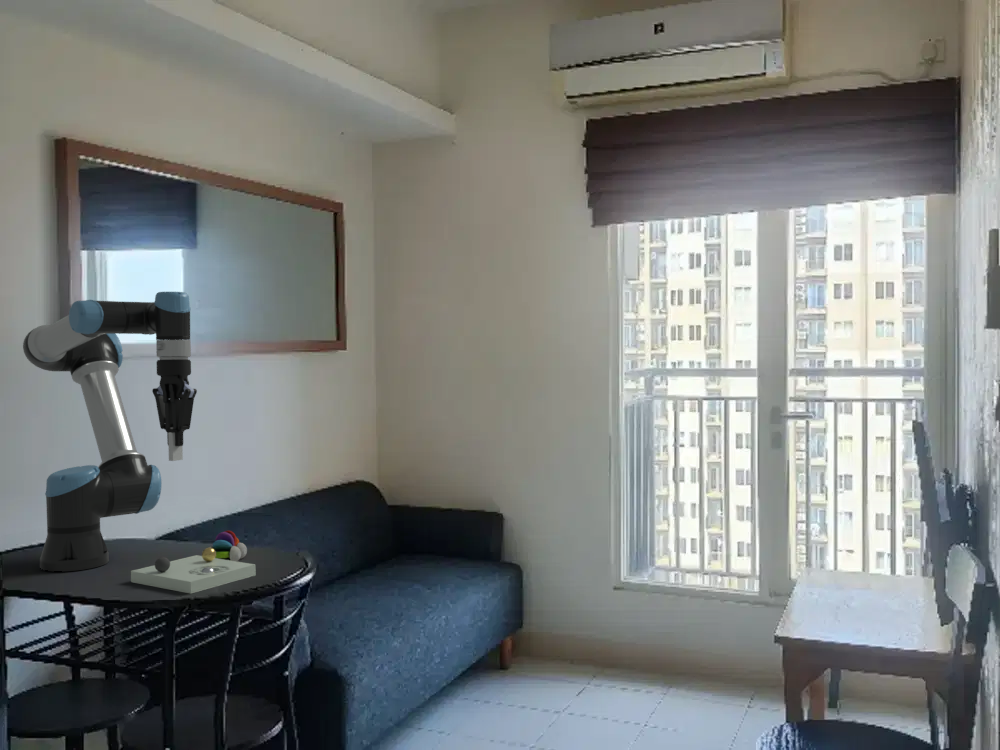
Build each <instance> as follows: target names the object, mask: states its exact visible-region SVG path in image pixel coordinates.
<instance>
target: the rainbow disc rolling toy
mask: <svg viewBox="0 0 1000 750" xmlns="http://www.w3.org/2000/svg"><path fill="white" fill-rule="evenodd" d="M209 547H210V548H213V549H214V550H215V551H216V557H215V558H218V559H229V560H230V561H237V562H239V560H241V559H243V558H244V557H246V555H247V553H248V548H247V546H246V544H244V543H243V542H240V540H239V538H238V537H237V536H236V534H235V533H234V532H233V531H232V530H225V531H222V532H219V533H218V534H217V535H216V536H215V541H214V542H213V543H212V545H211V546H209Z"/></svg>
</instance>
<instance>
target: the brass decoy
mask: <svg viewBox="0 0 1000 750" xmlns="http://www.w3.org/2000/svg"><path fill="white" fill-rule="evenodd" d="M210 547H211V546H209V547H206V548H204V549H203V550H202V552H201V556H202V558H203V559H204V560H205V561H208V562H209V561H212V560H214V559H215V557H216V551H215V550H214V549H213V548H210Z"/></svg>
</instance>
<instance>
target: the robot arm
mask: <svg viewBox="0 0 1000 750" xmlns="http://www.w3.org/2000/svg"><path fill="white" fill-rule="evenodd" d="M117 334H119V335H120V334H121V335H122V334H123V335H125V334H126V335H131V334H133V335H149V336H151V335H155V340H156V341H155V342H156V343H155V344H156V357H157V358H159V359H157V361H156V375H157V376H159V377H160V379H159V386H158V387H155V388H152V390H151V391H152V393H153V395H154V400H155V404H156V410H157V415H158V421H159V425H160V429H161V430H165V432H166V434H167V436H166V437H167V439H166V440H167V446H168V461H170V462H174V461H183V459H184V458H183V457H184V456H183V453H184V452H183V446H184V433H185V431H187V430H190V428H191V423H192V416H193V408H194V402H195V401H194V400H195V397H196V395H197V394H198V393H197V392H198V390H197V388H192V387H191V386H190V382H189V379H188V376H190V375H191V374H192V361H191V359H189V358H190V357H192V349H191V348H192V346H191V305H190V296H189V294H188V293H187V292H184V291H159V292H157V293H156V294H155V298H154V301H150V302H146V301H114V300H94V299H86V300H76V301H74V302H73V303H72V304H71V306H70V308H69V313H68V315H66V316H63V317H62V318H60V319H59V320H57V321H54V322H53V323H51V324H43V325H39V326H37V327H35V328H33V329H32V330H31V331H29V332H28V333H27V334H26V335H25V337H24V339H23V342H22V349H23V353H24V355H25V358H26V359H27V360H28V361H29V362H30V363H31V364H32V365H34V366H35V367H37V368H38V369H40V370H44V371H48V372H70V375H71V379H72V381H73V382H75V383H76V384H77V385H80V388H81V391H82V395H83V399H84V402H85V405H86V409H87V413H88V416H89V420H90V423H91V428H92V430H93V434H94V438H95V441H96V446H97V448H98V451H99V456H100V459H101V462H100V464H99V465H98V466H97V465H94V464H93V465H92V464H89V465H87V464H86V465H80V466H73V467H69V468H67V467H66V468H63V469H60V470H57V471H55V472H52V473H51V474H50V475H48V477H47V478H46V489H45V493H44V494H45V498H46V501H45V502H46V527H47V528H46V529H47V530H46V531H47V534H46V538H45V541H44V545H43V548H42V552H41V555H40V557H39V569H40V568H41V569H40V570H42V569H43V570H42V571H45V570H48V571H47V572H54V571H62V572H75V571H83V570H90V569H95V568H98V567H101V566H105V565H106V564H108V563H109V561H110V557H109V555H110V553H109V550H108V548H107V545H106V542H105V540H104V536H103V533H102V532H101V519H103V518H109V517H110V518H111V517H117V516H124V515H134V514H135V515H136V514H140V513H143V512H149V511H151V510H153V509H154V508H155V507H156V506H157V505H158V502H159V500H160V498H161V492H162V476H161V472H160V469H159V467H157V466H156V465H154V464H148V461H147V459H146V456H145V455H144V454H142V453H140V452H138V451H137V447H136V445H135V442H134V441H135V440H134V437H133V435H132V431H131V426H130V424H129V420H128V417H127V414H126V409H125V407H124V403H123V401H122V396H121V393H120V391H119V387H118V383H117V380H116V375H117V374H118V372H119V368H120V367H121V366H122V363H123V359H124V357H123V356H124V355H123V353H122V352H123V346H122V344H121V341H120V338H119V337H118V335H117Z"/></svg>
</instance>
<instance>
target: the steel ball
mask: <svg viewBox="0 0 1000 750" xmlns="http://www.w3.org/2000/svg"><path fill="white" fill-rule="evenodd" d="M209 572H215V570H214V569H213V568H211V567H206V568H204V569H203V570H202V571H201V573H209Z"/></svg>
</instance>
